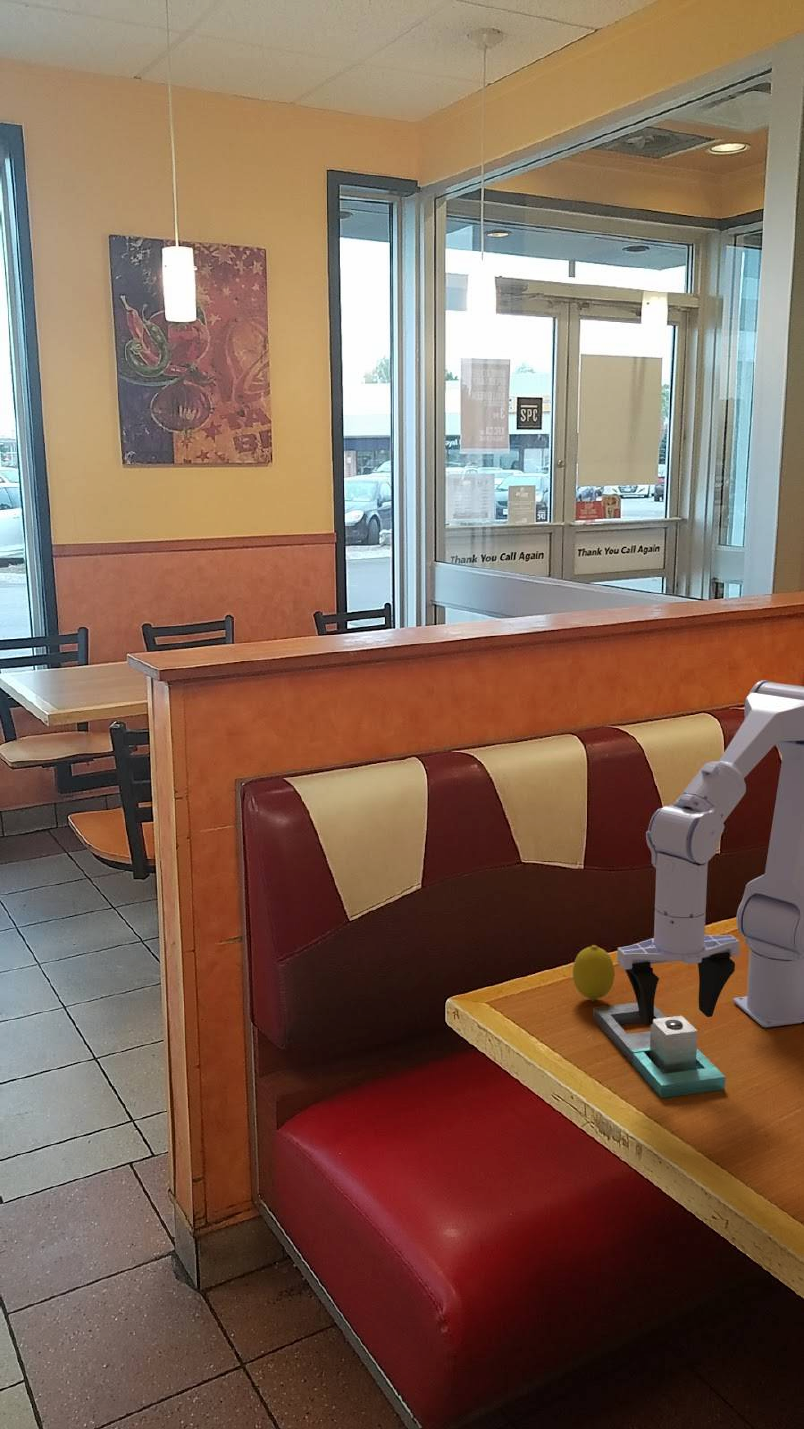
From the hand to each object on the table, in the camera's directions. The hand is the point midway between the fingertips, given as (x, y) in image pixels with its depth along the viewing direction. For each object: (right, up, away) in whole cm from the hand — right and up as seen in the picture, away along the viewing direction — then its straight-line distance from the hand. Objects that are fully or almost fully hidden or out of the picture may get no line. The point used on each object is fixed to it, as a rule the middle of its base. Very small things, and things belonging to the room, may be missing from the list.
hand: (676, 1017), depth 133 cm
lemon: (-6, -3, +20) cm, 21 cm away
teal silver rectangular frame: (-1, -6, +6) cm, 9 cm away
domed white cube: (0, -7, +2) cm, 7 cm away
